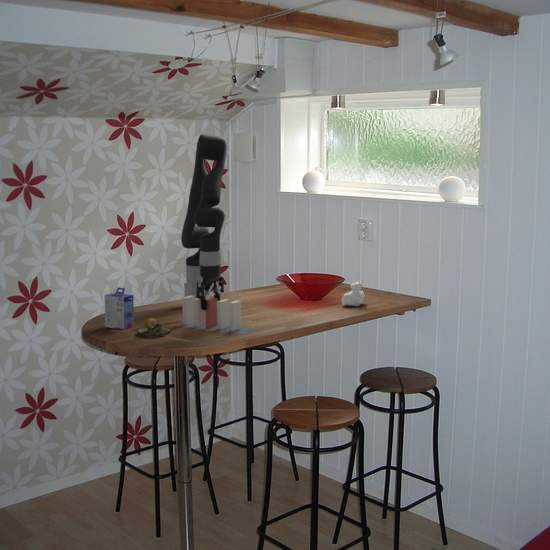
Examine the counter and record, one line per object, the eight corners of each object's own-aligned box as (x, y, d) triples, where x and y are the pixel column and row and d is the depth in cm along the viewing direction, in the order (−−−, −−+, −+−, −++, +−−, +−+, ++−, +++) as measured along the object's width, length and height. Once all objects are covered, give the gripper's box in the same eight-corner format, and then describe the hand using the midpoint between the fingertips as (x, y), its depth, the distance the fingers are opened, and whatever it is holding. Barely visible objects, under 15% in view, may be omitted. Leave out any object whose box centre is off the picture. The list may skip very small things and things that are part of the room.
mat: (175, 327, 276) (175, 325, 276) (193, 321, 286) (193, 320, 286) (244, 336, 263) (244, 334, 263) (260, 329, 272) (260, 328, 272)
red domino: (205, 327, 273) (205, 300, 272) (213, 324, 278) (213, 297, 276) (209, 328, 273) (209, 300, 271) (217, 325, 277) (217, 298, 275)
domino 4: (229, 330, 269) (229, 302, 267) (237, 327, 273) (236, 300, 272) (233, 331, 268) (233, 303, 266) (241, 328, 272) (241, 300, 271)
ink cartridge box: (135, 327, 276) (134, 288, 274) (124, 330, 272) (123, 290, 269) (115, 324, 281) (113, 286, 279) (104, 327, 277) (103, 288, 274)
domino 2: (194, 326, 276) (193, 299, 274) (202, 323, 280) (201, 296, 279) (198, 326, 275) (197, 299, 273) (206, 323, 280) (205, 297, 278)
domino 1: (182, 324, 278) (182, 297, 277) (190, 321, 283) (190, 295, 281) (186, 325, 277) (186, 298, 276) (195, 322, 282) (194, 295, 280)
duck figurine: (344, 312, 312) (356, 293, 305) (334, 299, 316) (346, 280, 309) (364, 308, 319) (377, 290, 312) (354, 295, 323) (366, 277, 316)
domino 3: (217, 329, 271) (217, 301, 270) (225, 326, 276) (224, 299, 274) (221, 329, 270) (221, 302, 269) (229, 326, 275) (229, 299, 273)
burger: (174, 337, 263) (174, 316, 262) (140, 340, 259) (139, 318, 258) (167, 329, 274) (166, 309, 273) (134, 332, 270) (133, 311, 269)
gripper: (212, 259, 279) (212, 302, 282) (190, 265, 267) (190, 310, 270) (229, 261, 276) (230, 305, 279) (207, 266, 264) (208, 312, 266)
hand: (210, 307), depth 274 cm, fingers open, 8 cm apart
